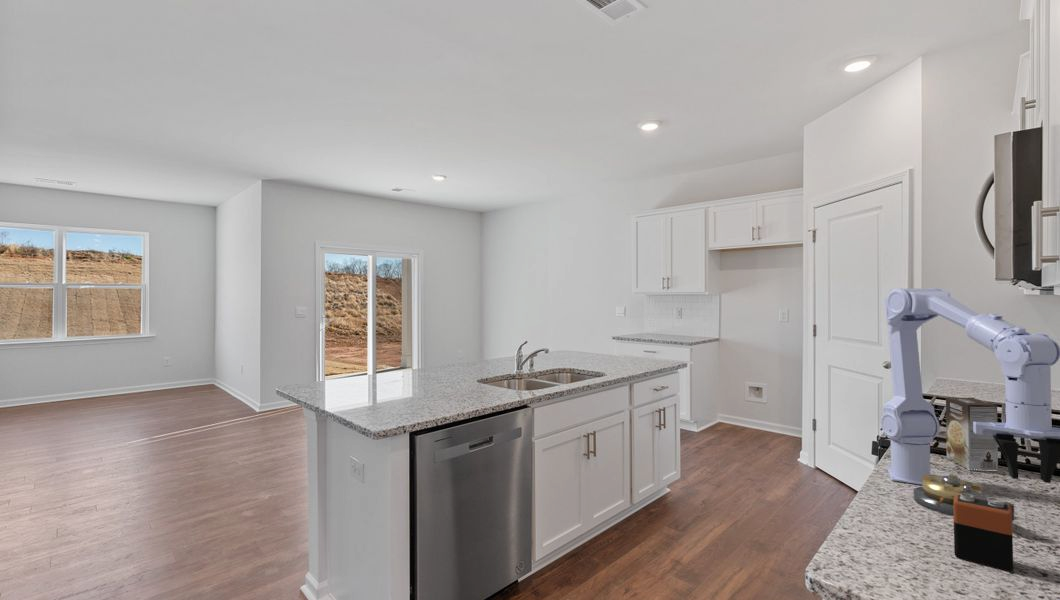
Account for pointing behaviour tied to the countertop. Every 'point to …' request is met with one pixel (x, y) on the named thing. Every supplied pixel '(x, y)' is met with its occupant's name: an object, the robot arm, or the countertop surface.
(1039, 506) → the countertop surface
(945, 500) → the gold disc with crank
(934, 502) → the mounting plate
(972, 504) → the battery
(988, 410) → the coffee box
